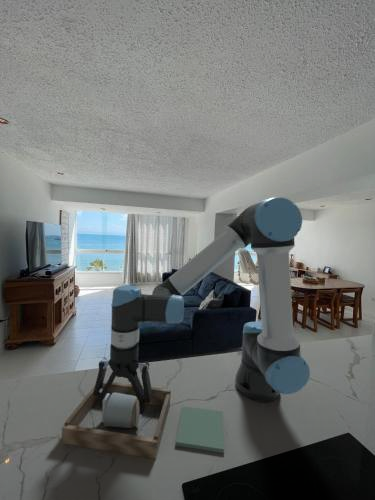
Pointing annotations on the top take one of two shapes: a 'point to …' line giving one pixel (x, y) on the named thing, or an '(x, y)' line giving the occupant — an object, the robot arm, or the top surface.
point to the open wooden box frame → (113, 439)
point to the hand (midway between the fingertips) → (121, 421)
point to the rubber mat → (201, 429)
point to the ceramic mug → (121, 411)
